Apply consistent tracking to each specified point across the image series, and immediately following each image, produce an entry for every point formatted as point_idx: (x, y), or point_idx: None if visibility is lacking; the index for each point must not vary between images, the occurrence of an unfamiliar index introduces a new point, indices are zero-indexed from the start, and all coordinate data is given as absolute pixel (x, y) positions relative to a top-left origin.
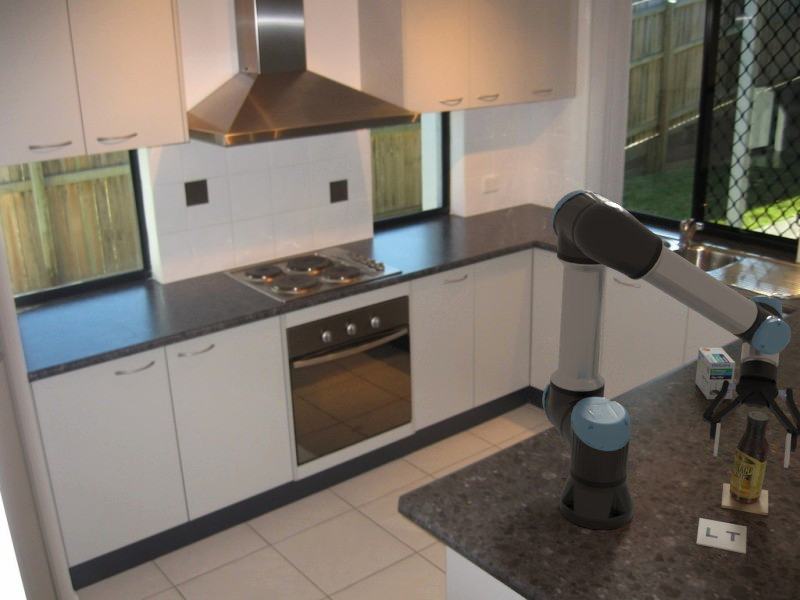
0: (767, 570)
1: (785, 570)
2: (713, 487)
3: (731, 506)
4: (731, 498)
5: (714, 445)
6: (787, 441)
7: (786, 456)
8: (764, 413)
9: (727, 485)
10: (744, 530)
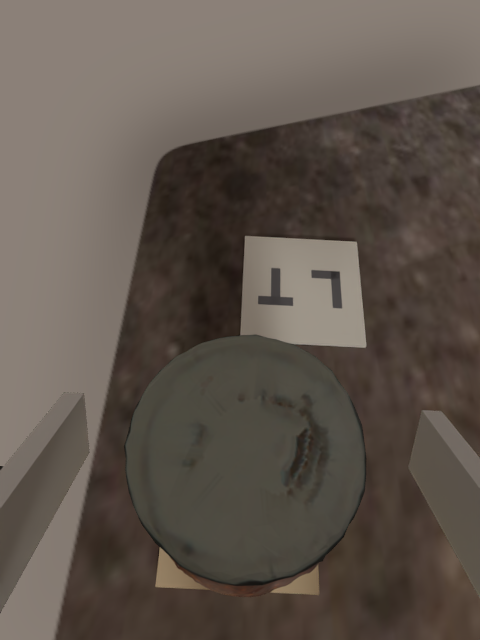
0: (201, 198)
1: (163, 206)
2: (349, 563)
3: None
4: None
5: (461, 436)
6: (14, 481)
7: (62, 415)
8: (166, 523)
9: (303, 578)
10: (246, 320)
